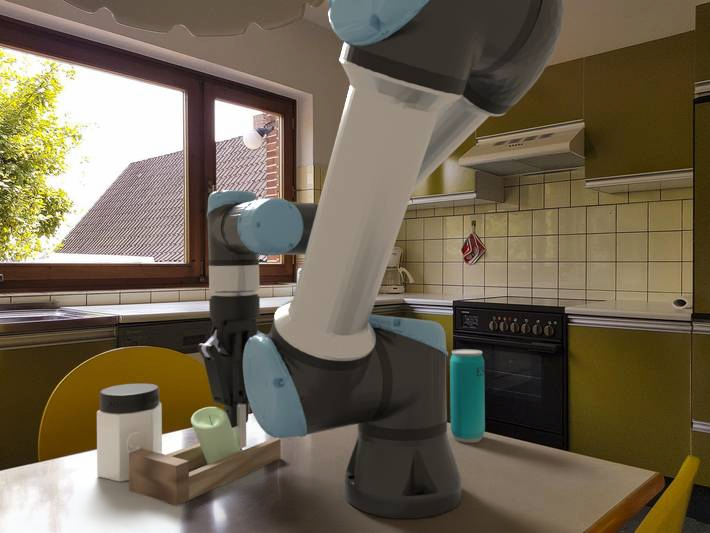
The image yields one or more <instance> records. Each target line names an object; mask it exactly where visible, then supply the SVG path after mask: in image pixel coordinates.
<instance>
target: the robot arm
mask: <svg viewBox="0 0 710 533" xmlns="http://www.w3.org/2000/svg"><path fill="white" fill-rule="evenodd" d="M327 3H328V5H329V7H330V8H329V9H328V12H327V15H328V19H329V23H330V27H331V28H332V30H333V32H334V33H335V34H336V36H337V37H338V38H339V39H340V40H341V41H342V42H343V45H342V49H341V53H340V57H339V62H340V64H341V66H342V67H343V69H344V72H345V74H346V76H347V78H348V80H349V84H350V85H349V89H348V91H347V95H346V96H347V97H346V99H345V103H344V108H343V112H342V115H341V119H340V123H339V127H338V129H337V133H336V137H335V142H334V144H333V145H334V146H333V149H332V152H331V156H330V160H329V162H328V168H327V170H326V175H325V178H324V182H323V186H322V190H321V194H320V196H319V197H320V198H319V200H318V203H315V202H297V201H289V200H286V199H285V198H280V197H267V196H266V197H260V198H259V199H258V197H257V195H256V193H255V192H253V191H248V190H236V189H235V190H232V189H230V190H229V189H228V190H216V191H213V192H211V193H210V194H209V196H208V199H207V212H206V220H207V243H208V244H207V246H208V284H209V285H208V288H209V291H210V292H211V293H213V294H211V295H210V297H209V299H208V300H209V301H208V302H209V303H208V305H209V318H210V319H211V321H212V327H211V330H210V338H208V340H207V341H206V342H205V343H202V342H201V343H199V344H198V346H197V351H198V352H199V354H200V355H201V356H202V358H203V362H204V367H205V371H206V374H207V381H208V384H209V388H210V393H211V397H212V402H213V403H214V404H217V405H223V406H224V411H225V412H226V413H227V416H228V418H229V421H230V424H231V426H232V429H233V432H234V435H235V437H236V440H237V443H238V445H239V448H240V449H241V448H242V449H244V448H246V447H247V423H248V422H249V407H250V409H251V412H252V414H253V416H254V418H255V420H256V421H257V422H256V423H257V424H258V426H259V427H260V428H261V429H262V431H264V432H265V433H266V434H267V435H268V436H269V437H271V438H279V439H286V438H293V437H294V438H296V437H299V438H303V437H306V436H307V435H313V434H317V433H321V432H327V431H331V430H336V429H340V428H345V427H349V426H354V425H357V434H356V438H355V442H354V445H353V448H352V451H351V455H350V458H349V461H348V464H347V467H346V471H345V474H344V497H345V499H346V500H347V502H348V503H350V504H351V505H352V506H354V507H355V508H357V509H358V510H361V511H363V512H364V513H365V512H366V513H368V514H372V515H374V516H375V515H376V516H381V517H386V518H396V519H421V518H428V517H433V516H437V515H441V514H443V513H446V512H448V511H450V510H453V509H454V508H455V507H456V506H458V504H460V502H461V500H462V478H461V473H460V471H459V467H458V465H457V461H456V459H455V455H454V452H453V449H452V446H451V443H450V440H449V437H448V357H449V352H448V350H447V340H446V339H447V338H446V336H447V335H446V332H445V328H444V327H443V326H442V325H441V324H440V323H439V322H437V321H434V320H428V319H417V318H410V317H399V316H388V315H378V314H372V312H373V310H374V306H375V303H376V299H377V297H378V294H379V291H380V289H381V286H382V282H383V279H384V277H385V273H386V270H387V267H388V264H389V262H390V259H391V255H392V252H393V250H394V248H395V244H396V240H397V239H398V238H397V237H398V234H399V232H400V229H401V227H402V226H401V225H402V223H403V220H404V218H405V214H406V212H407V209H408V208H407V207H408V205H409V203H410V199H411V197H412V193H413V192H414V191H415V190H416V189H417V188H418V187H420V185H421V184H422V183H423V182H425V180H426V179H428V177H429V176H431V174H432V173H434V171H435V170H437V168H438V167H440V165H441V164H443V162H444V161H445V160H446V159H448V157H449V156H451V154H453V153H454V152H455V151H456V150H457V148H459V147H460V146H461V145H462V144H463V143H464V142H465V141H466V140H467V139H468V137H470V135H472V134H474V132H475V131H476V130H477V129H478V128H479V127H480V126H481V125H482V124H483V123H484V122H485V121H486V120H487V119H488V118H489V117H501V116H504V115H505V114H507V113H508V112H509V110H511V109H512V108H513V107H514V105H516V104H517V103H518V102H519V101H520V100H521V99H522V98H523V97H524V96H525V95H526V93H528V91H530V90H531V88H532V87H533V86H534V84H536V82H537V81H538V79H539V78H540V77H541V75H542V74H543V72H544V70H545V69H546V67H547V66H548V64H549V63H550V61H551V60H552V57H553V55H554V53H555V50H557V46H558V44H559V41H560V37H561V35H562V32H563V26H564V21H565V20H564V19H565V0H327ZM260 255H261V256H263V257H264V256H266V257H267V256H280V255H283V256H285V255H287V256H289V255H291V256H293V255H296V256H303V260H302V265H301V268H300V272H299V276H298V280H297V284H296V287H295V291H294V294H293V298H292V299H291V300H288V301H286V302H284V303H283V304H282V303H281V305H280V306H278V308H277V310H275V312H274V317H273V321H272V324H271V328H270V331H269V333H264V332H263V333H262V332H261V331H259V326H258V323H257V319H258V318H259V317H260V315H261V314H260V313H261V310H260V306H261V305H260V298H261V297H260V295H259V294H258V293H257V291H259V290H260V288H261V287H260ZM242 449H241V450H242Z"/></svg>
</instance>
